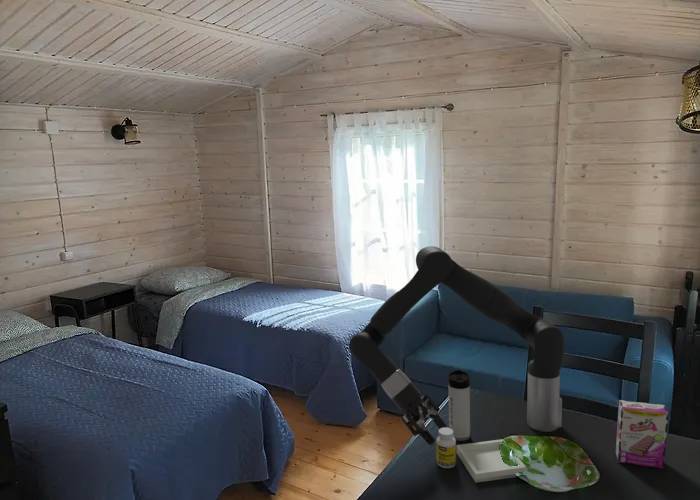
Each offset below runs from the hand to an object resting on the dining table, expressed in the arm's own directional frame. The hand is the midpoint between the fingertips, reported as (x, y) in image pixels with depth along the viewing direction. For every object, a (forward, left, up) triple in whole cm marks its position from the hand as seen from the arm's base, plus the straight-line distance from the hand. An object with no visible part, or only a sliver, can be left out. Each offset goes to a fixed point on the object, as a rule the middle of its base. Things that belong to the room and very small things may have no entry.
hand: (438, 435), depth 144 cm
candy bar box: (-53, +12, -8) cm, 55 cm away
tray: (-13, +4, -8) cm, 16 cm away
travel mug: (-10, -11, -8) cm, 17 cm away
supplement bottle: (-2, +1, -8) cm, 8 cm away
